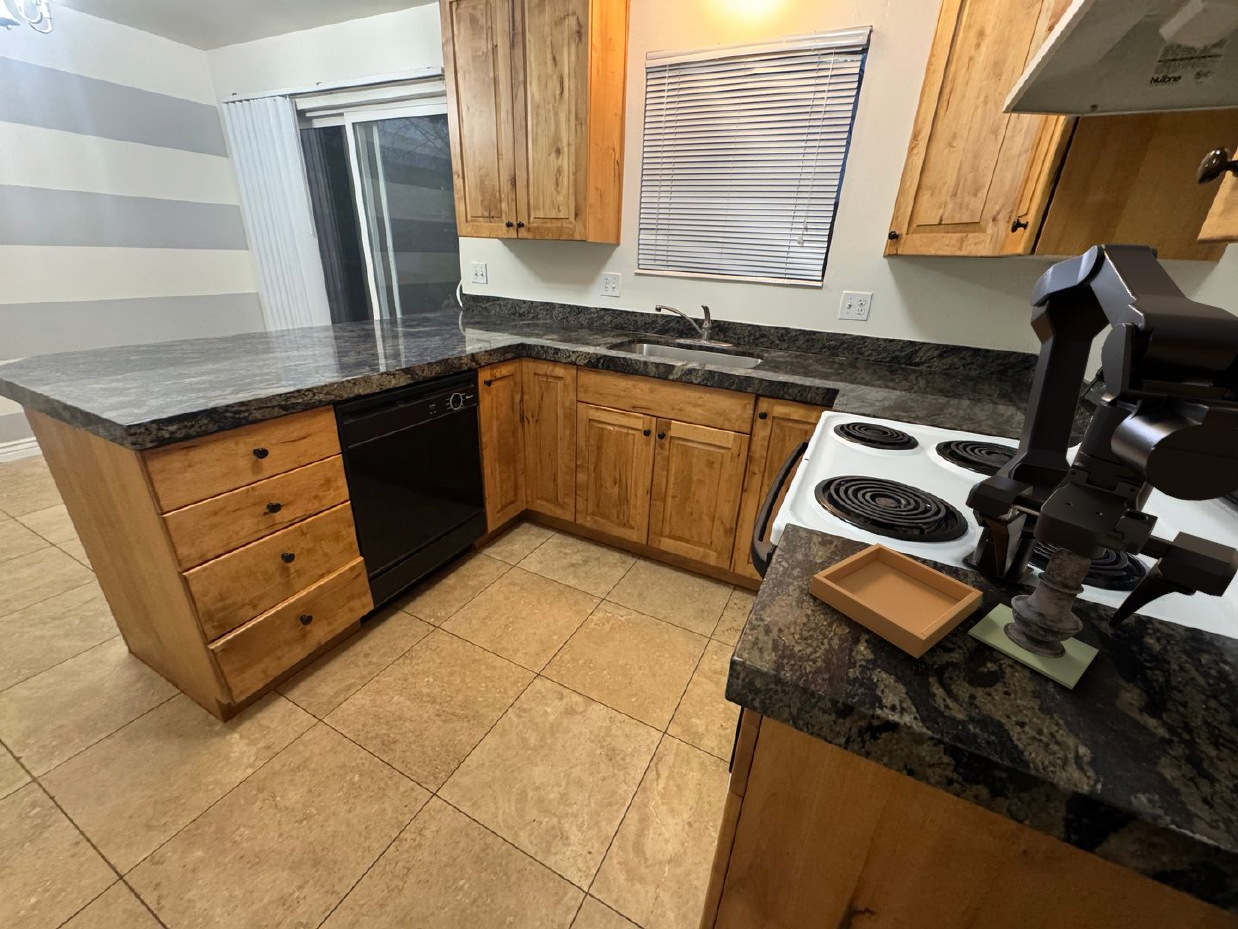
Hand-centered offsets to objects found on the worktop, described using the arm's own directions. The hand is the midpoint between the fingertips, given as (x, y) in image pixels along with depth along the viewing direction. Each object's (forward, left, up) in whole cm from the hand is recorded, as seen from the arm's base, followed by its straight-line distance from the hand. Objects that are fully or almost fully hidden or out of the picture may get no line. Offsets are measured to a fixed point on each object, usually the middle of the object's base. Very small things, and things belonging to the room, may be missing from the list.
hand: (1052, 599), depth 51 cm
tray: (+6, -12, -6) cm, 15 cm away
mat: (0, 0, -6) cm, 6 cm away
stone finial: (0, 0, -6) cm, 6 cm away
